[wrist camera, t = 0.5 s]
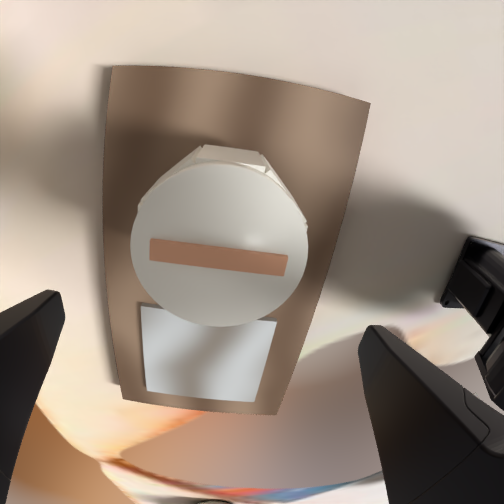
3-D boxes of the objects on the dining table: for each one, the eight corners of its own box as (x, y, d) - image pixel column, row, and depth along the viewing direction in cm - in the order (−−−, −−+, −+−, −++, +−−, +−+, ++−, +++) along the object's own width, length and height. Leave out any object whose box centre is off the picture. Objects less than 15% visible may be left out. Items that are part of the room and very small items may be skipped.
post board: (360, 102, 17) (423, 109, 10) (274, 402, 28) (282, 465, 22) (121, 67, 15) (64, 56, 9) (126, 386, 26) (110, 448, 20)
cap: (301, 159, 15) (328, 184, 10) (274, 278, 18) (287, 336, 13) (161, 140, 14) (131, 157, 10) (153, 264, 17) (131, 318, 13)
